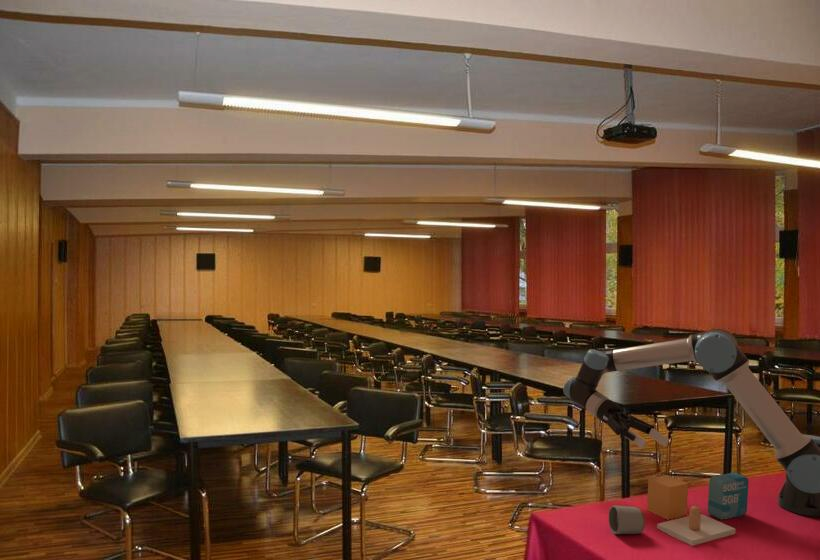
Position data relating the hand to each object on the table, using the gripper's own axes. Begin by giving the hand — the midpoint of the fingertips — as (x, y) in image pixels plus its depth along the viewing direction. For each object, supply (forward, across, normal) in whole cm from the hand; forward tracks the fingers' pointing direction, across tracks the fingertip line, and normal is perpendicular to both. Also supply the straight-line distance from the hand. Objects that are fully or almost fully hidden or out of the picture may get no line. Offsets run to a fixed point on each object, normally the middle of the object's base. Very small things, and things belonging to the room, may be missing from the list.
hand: (656, 444), depth 211 cm
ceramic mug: (+11, +20, -21) cm, 31 cm away
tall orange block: (+11, -2, -17) cm, 21 cm away
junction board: (+23, +4, -14) cm, 27 cm away
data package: (+22, -16, -12) cm, 30 cm away
